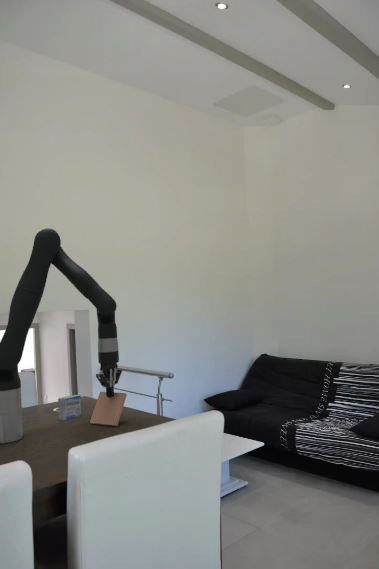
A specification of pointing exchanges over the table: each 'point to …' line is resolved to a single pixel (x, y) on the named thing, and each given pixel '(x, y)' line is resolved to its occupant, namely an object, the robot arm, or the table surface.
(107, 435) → the table surface
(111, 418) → the terracotta tile
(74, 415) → the medicine box
